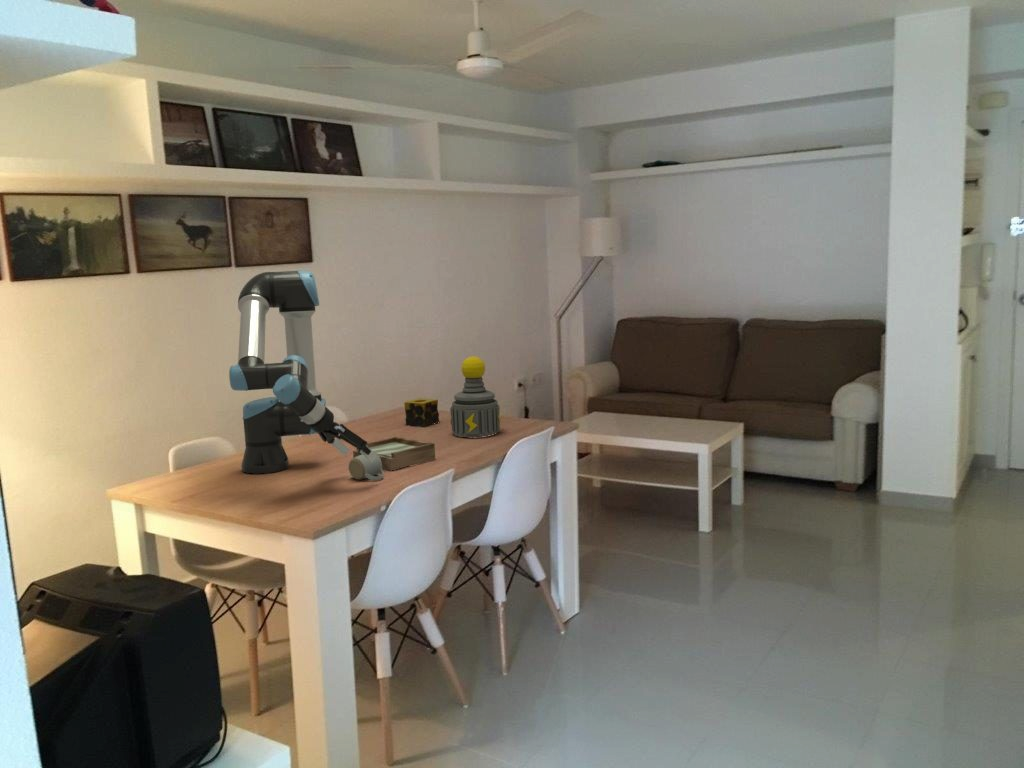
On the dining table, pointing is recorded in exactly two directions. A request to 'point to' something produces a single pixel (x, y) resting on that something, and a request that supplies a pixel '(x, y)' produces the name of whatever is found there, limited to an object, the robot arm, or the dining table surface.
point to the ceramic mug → (366, 468)
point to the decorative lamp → (474, 404)
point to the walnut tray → (401, 452)
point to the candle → (421, 412)
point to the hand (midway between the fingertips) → (360, 455)
